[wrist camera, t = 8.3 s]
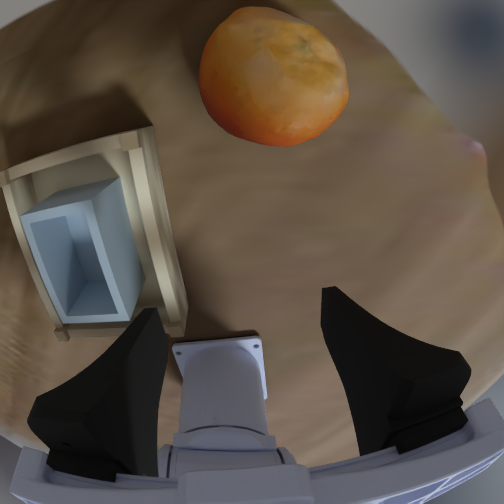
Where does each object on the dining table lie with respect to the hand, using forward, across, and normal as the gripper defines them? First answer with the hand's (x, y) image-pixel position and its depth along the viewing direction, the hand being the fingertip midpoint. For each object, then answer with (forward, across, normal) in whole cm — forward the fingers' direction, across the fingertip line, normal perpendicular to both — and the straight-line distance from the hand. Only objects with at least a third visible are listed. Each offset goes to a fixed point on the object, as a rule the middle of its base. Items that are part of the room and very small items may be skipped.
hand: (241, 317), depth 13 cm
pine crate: (+10, +10, -1) cm, 14 cm away
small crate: (+9, +10, -1) cm, 14 cm away
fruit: (+10, -3, -10) cm, 15 cm away
